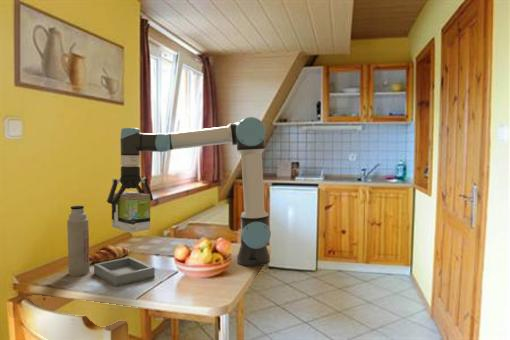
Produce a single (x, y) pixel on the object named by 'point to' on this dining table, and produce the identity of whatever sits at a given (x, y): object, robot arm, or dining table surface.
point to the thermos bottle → (78, 242)
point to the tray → (124, 271)
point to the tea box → (132, 212)
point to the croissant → (108, 254)
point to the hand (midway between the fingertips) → (130, 219)
